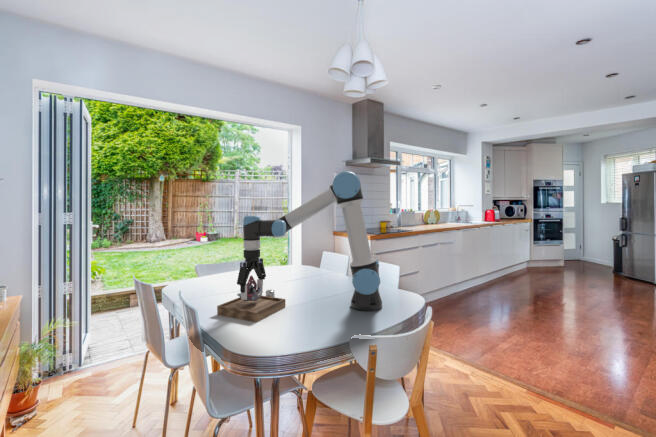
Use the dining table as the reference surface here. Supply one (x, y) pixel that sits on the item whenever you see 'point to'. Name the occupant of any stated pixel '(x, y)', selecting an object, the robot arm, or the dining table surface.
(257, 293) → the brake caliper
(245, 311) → the wooden tray
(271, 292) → the steel bushing
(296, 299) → the dining table surface
